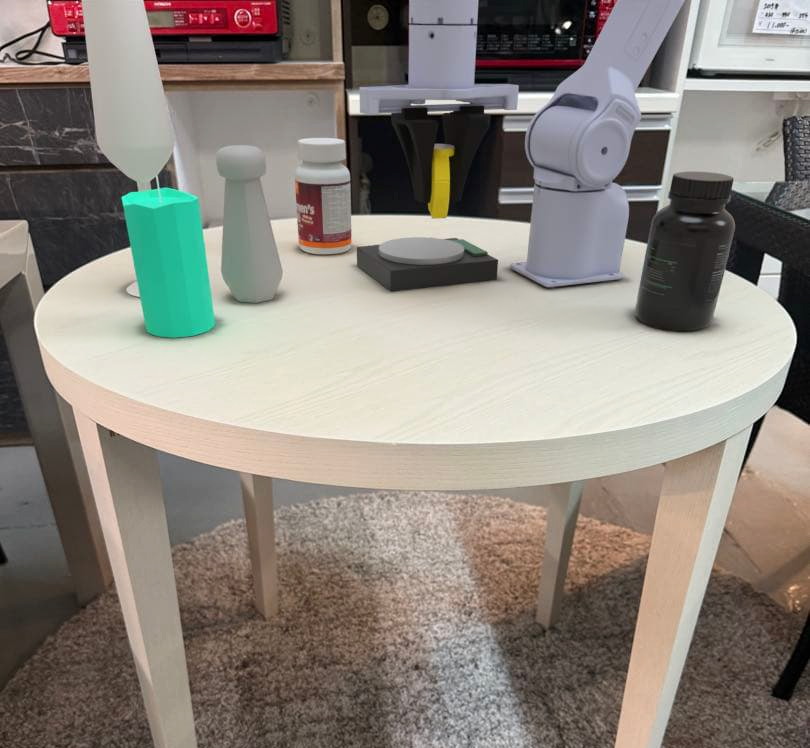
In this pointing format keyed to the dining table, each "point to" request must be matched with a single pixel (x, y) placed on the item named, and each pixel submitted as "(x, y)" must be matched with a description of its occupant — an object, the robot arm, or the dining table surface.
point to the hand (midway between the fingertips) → (437, 200)
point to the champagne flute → (127, 91)
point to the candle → (169, 261)
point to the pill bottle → (323, 197)
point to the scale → (426, 262)
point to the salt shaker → (247, 227)
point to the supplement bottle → (687, 253)
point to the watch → (440, 180)
